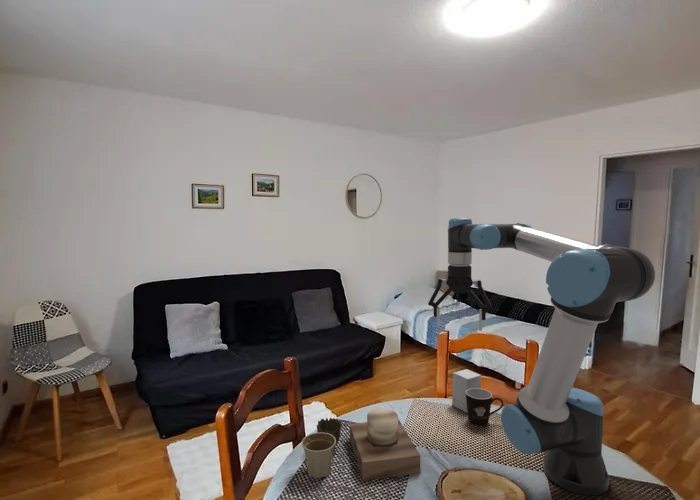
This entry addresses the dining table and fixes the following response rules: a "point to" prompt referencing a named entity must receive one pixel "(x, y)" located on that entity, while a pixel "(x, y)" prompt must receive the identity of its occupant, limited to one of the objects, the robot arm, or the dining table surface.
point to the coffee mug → (479, 406)
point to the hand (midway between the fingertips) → (459, 328)
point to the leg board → (384, 454)
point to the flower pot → (319, 453)
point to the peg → (382, 427)
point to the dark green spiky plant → (330, 428)
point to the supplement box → (463, 387)
